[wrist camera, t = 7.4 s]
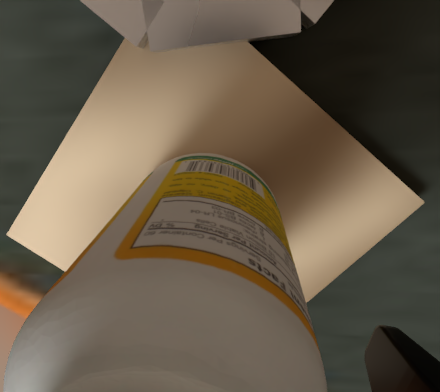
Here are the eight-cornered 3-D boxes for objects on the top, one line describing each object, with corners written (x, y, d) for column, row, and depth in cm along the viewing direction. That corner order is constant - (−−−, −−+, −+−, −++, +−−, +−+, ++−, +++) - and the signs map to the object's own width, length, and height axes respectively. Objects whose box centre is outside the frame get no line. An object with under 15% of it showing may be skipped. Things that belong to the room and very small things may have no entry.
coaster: (417, 197, 11) (424, 202, 11) (225, 362, 15) (225, 371, 14) (170, -27, 9) (166, -32, 9) (15, 228, 13) (6, 234, 12)
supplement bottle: (243, 123, 10) (295, 495, 1) (299, 254, 12) (489, 801, 3) (105, 187, 11) (-391, 628, 2) (175, 298, 13) (41, 797, 4)
